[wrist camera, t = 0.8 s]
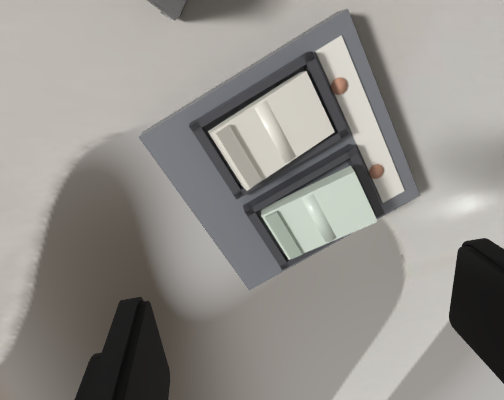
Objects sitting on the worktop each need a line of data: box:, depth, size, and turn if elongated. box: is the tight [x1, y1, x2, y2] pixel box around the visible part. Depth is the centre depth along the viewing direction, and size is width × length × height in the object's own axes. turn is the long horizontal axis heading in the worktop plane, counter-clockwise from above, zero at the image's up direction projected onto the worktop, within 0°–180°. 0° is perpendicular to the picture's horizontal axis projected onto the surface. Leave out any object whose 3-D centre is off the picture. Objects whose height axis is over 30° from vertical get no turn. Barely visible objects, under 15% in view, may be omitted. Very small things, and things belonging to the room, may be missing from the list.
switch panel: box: [139, 9, 420, 290], centre depth 33 cm, size 20×19×4 cm
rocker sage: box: [261, 166, 378, 260], centre depth 32 cm, size 9×6×2 cm, turn 120°
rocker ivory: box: [208, 71, 334, 191], centre depth 29 cm, size 9×6×2 cm, turn 120°
